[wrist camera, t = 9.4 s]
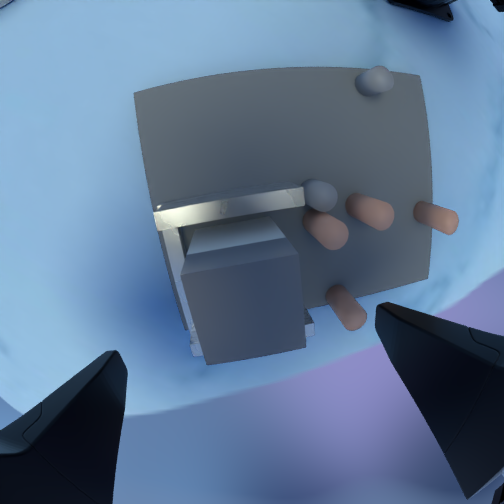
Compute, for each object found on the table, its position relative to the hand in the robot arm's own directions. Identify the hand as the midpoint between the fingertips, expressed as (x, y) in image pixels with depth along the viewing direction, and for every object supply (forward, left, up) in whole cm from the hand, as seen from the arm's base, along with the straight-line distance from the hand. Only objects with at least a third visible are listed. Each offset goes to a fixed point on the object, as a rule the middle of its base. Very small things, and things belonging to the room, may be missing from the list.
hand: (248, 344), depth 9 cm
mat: (-5, -3, -8) cm, 10 cm away
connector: (0, 0, -7) cm, 7 cm away
